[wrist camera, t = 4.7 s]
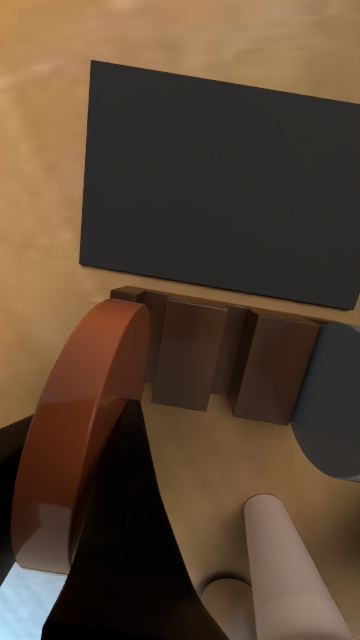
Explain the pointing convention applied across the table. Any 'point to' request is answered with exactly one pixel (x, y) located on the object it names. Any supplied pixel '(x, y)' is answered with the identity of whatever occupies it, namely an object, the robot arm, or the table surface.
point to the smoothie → (286, 579)
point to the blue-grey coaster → (331, 403)
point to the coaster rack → (225, 353)
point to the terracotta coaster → (76, 433)
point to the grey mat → (222, 185)
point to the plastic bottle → (232, 608)
